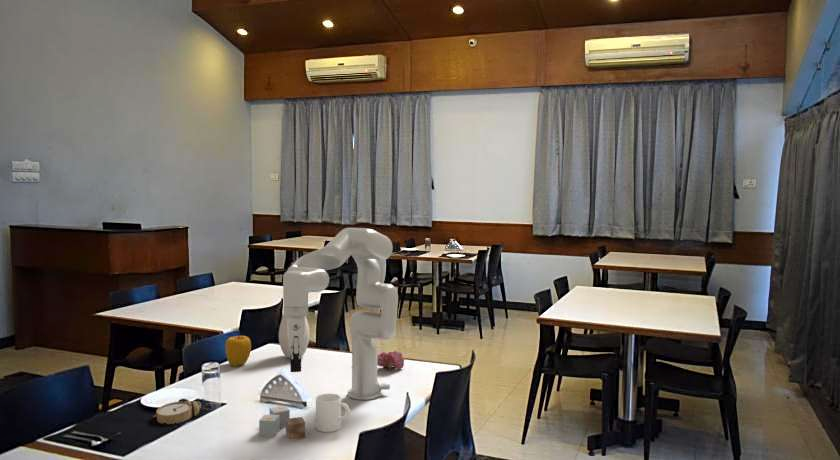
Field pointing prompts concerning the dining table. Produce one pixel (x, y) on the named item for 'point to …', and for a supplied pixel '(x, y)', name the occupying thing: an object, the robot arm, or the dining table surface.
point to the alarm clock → (177, 411)
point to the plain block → (295, 428)
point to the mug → (329, 412)
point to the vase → (284, 337)
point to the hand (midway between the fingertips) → (295, 369)
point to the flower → (391, 360)
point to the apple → (238, 350)
